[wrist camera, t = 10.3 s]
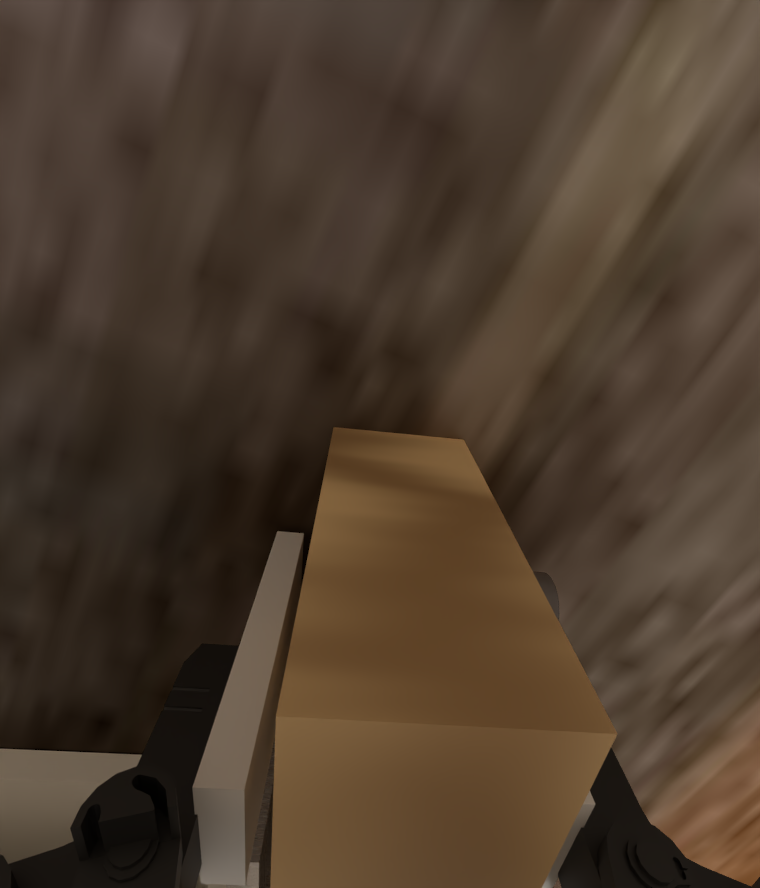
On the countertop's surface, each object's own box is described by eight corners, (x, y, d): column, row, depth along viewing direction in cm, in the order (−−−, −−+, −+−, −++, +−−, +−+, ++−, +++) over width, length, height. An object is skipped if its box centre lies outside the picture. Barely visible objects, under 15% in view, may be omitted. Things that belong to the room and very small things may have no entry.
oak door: (310, 726, 16) (262, 1112, 9) (334, 425, 12) (275, 716, 4) (428, 732, 17) (476, 1110, 9) (497, 441, 12) (704, 738, 5)
